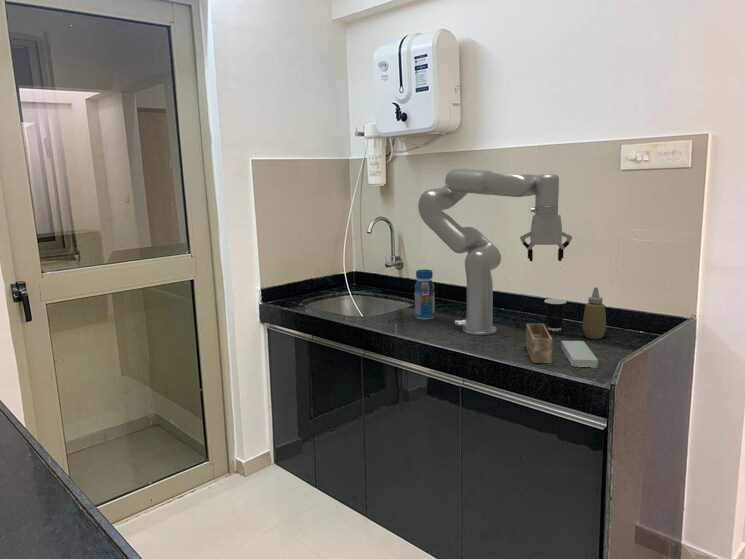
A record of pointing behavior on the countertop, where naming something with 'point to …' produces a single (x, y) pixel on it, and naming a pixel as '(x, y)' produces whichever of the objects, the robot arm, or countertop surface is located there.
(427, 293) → the beverage bottle
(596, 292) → the squeeze bottle
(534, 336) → the box
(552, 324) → the dixie cup
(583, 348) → the lid
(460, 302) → the countertop surface
